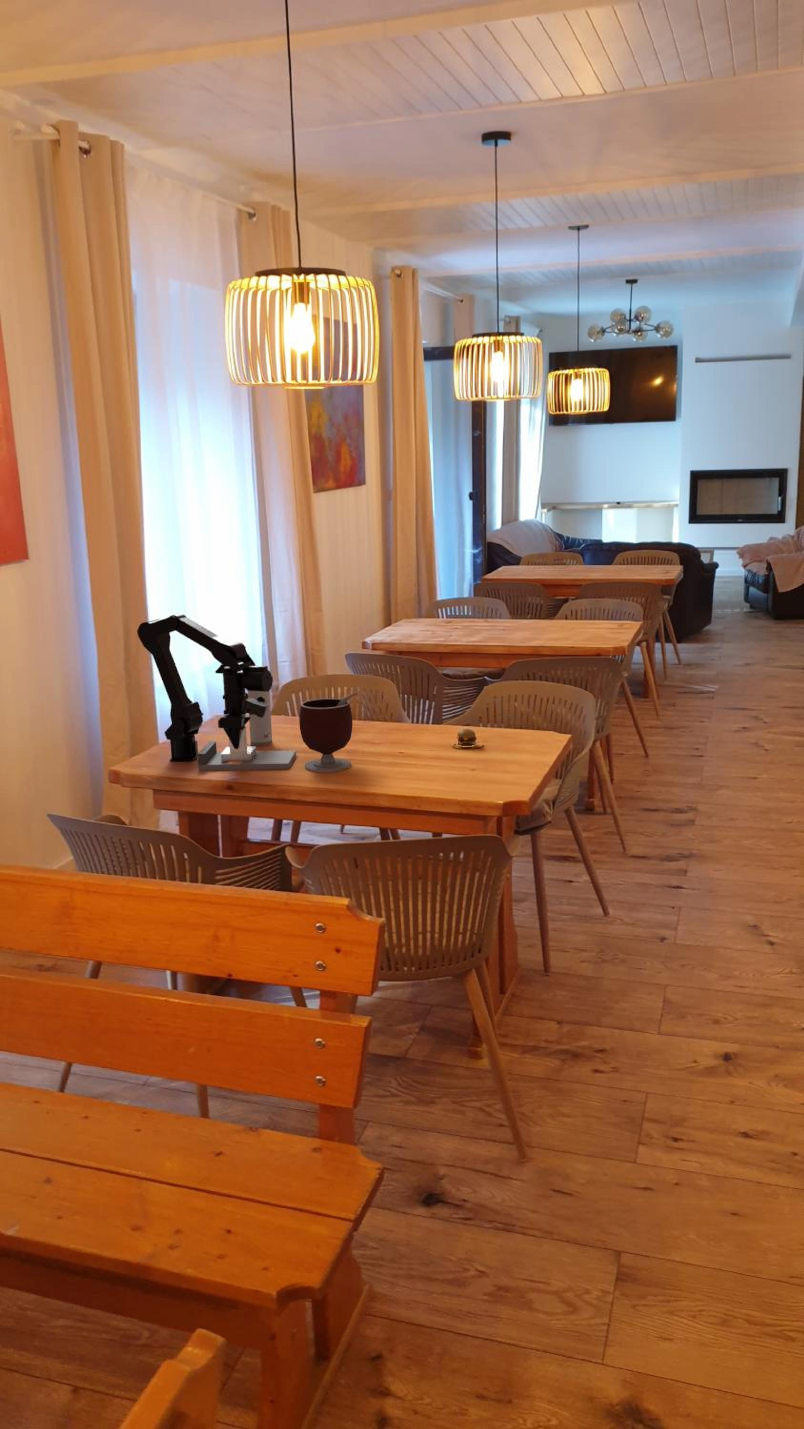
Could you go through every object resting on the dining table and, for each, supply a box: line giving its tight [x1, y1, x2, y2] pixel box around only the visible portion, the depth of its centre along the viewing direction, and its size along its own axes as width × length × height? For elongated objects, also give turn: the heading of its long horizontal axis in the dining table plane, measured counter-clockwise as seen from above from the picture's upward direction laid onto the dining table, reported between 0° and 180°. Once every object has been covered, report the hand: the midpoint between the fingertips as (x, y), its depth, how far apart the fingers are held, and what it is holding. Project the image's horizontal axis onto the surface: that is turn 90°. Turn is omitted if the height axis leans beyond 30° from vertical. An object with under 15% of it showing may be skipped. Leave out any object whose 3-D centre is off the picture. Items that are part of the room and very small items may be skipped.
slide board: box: [197, 740, 297, 771], centre depth 307 cm, size 24×14×4 cm, turn 87°
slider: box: [221, 726, 257, 761], centre depth 306 cm, size 8×8×8 cm
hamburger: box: [456, 728, 478, 746], centre depth 318 cm, size 12×12×6 cm
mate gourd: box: [298, 691, 358, 773], centre depth 299 cm, size 16×14×20 cm
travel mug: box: [246, 690, 273, 747], centre depth 327 cm, size 6×7×20 cm
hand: (238, 746), depth 306 cm, fingers closed on slider, 4 cm apart
